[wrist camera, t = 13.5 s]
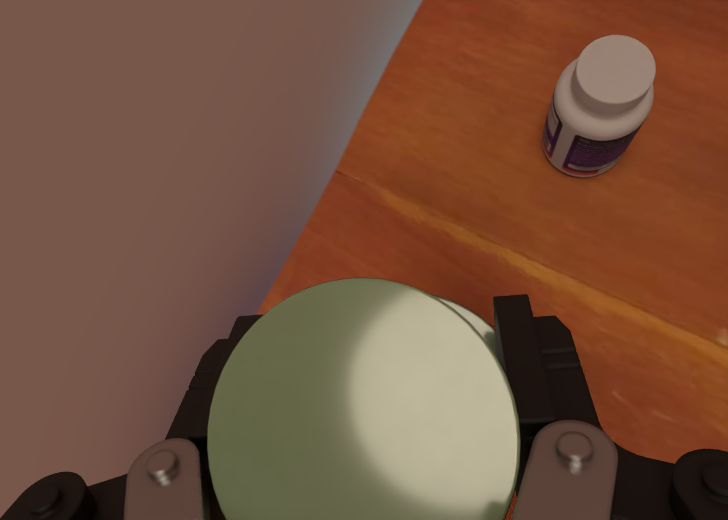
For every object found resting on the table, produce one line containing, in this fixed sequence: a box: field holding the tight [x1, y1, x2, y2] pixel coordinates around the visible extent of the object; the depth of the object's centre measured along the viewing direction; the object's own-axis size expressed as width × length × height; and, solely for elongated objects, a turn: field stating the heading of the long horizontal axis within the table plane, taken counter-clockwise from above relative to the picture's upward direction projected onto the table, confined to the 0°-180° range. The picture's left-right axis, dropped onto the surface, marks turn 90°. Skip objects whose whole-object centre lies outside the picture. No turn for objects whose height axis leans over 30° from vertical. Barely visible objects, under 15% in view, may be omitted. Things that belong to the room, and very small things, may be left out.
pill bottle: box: [542, 35, 656, 177], centre depth 36 cm, size 5×5×10 cm
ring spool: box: [207, 278, 521, 520], centre depth 13 cm, size 7×7×8 cm
